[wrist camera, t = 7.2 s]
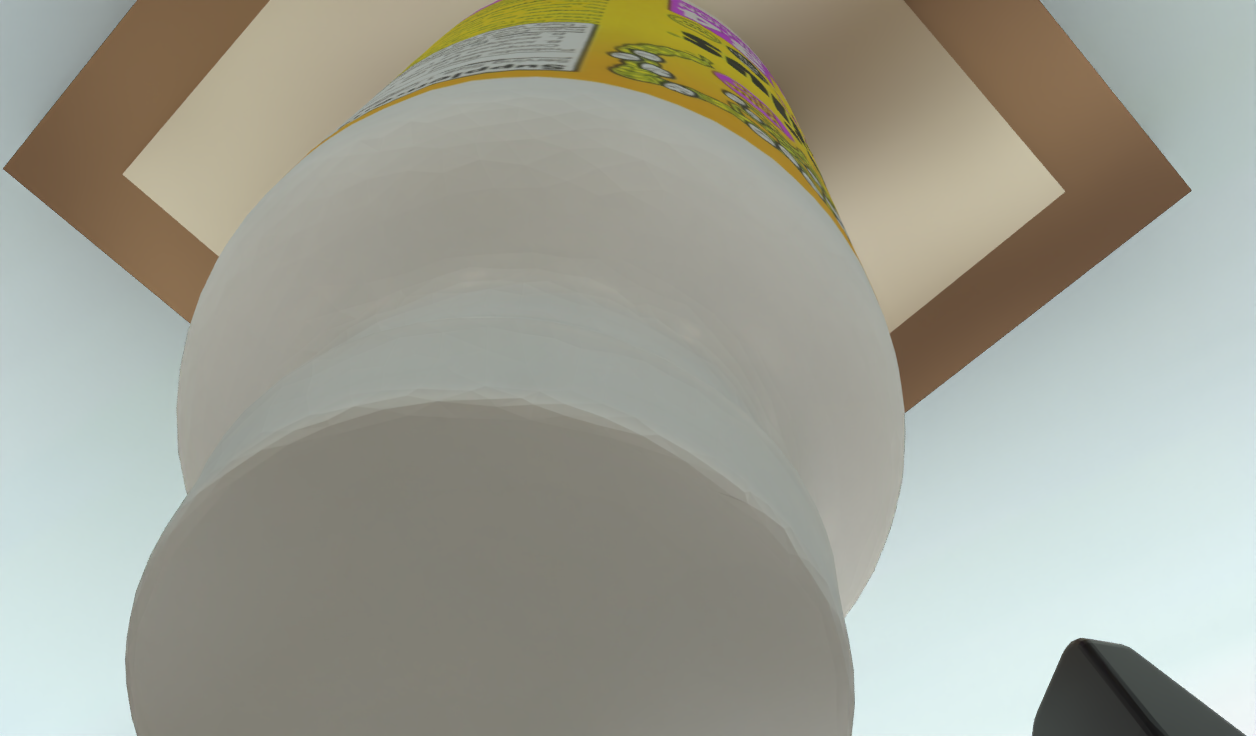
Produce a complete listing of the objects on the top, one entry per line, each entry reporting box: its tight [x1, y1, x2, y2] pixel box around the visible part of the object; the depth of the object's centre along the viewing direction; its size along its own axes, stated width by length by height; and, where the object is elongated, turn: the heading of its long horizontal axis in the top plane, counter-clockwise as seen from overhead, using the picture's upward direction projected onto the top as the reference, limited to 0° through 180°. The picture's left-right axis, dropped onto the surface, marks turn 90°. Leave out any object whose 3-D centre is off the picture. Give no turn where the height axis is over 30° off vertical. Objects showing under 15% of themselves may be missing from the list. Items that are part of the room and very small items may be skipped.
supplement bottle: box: [125, 0, 905, 736], centre depth 13 cm, size 7×7×13 cm
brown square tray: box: [3, 0, 1192, 412], centre depth 20 cm, size 14×14×2 cm
